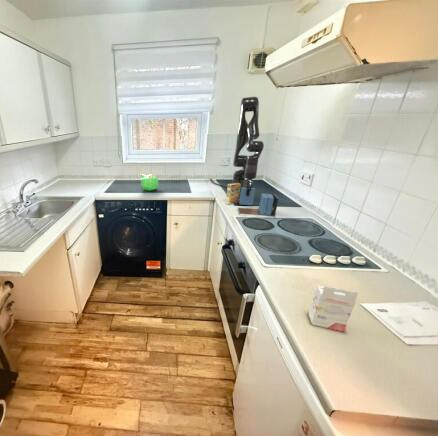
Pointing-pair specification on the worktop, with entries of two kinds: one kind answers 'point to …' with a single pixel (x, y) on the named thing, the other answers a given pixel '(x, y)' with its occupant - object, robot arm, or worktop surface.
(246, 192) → the robot arm
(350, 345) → the worktop surface
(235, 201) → the candy box
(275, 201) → the book rack
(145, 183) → the green rounded lump
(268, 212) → the shelved book
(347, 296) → the ink cartridge box
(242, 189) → the blue book
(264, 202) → the shelved book
